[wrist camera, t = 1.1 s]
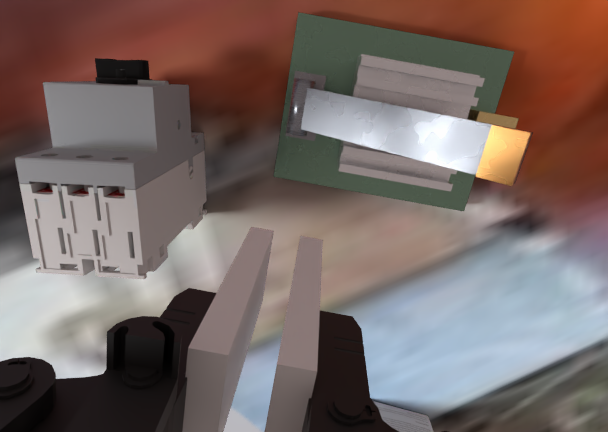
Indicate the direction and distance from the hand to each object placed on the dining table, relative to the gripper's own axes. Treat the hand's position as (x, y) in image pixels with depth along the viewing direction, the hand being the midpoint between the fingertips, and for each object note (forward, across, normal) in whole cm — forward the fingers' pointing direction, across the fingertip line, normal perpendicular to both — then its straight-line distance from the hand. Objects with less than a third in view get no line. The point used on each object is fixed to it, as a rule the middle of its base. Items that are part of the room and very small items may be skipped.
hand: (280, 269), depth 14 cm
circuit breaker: (+27, -14, -2) cm, 30 cm away
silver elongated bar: (+16, +6, +4) cm, 17 cm away
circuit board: (+26, +6, +4) cm, 27 cm away
